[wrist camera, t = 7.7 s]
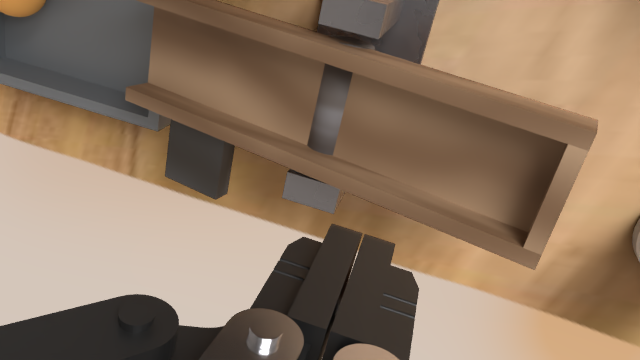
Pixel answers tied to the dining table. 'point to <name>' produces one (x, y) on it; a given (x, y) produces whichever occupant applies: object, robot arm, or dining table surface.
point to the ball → (20, 7)
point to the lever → (360, 125)
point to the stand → (387, 37)
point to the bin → (82, 55)
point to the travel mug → (636, 240)
